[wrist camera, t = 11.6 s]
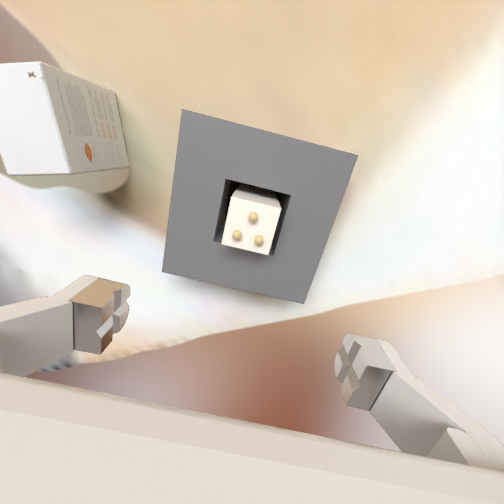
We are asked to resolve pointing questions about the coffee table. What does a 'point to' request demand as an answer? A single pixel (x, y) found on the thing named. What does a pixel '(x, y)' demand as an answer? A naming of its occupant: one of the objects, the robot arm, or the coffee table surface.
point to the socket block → (261, 175)
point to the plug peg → (251, 219)
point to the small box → (57, 123)
